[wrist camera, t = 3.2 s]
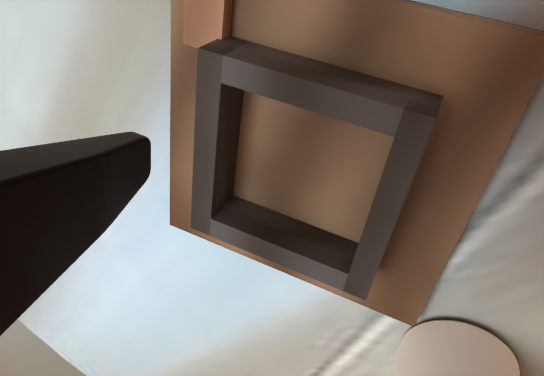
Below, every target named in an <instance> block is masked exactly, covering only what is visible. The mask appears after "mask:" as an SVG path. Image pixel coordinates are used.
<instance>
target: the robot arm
mask: <svg viewBox="0 0 544 376" xmlns="http://www.w3.org/2000/svg"><path fill="white" fill-rule="evenodd" d="M150 170H151V143H150V140H149V139H148V138H147V137H145V136H143V135H140V134H138V133H135V132H124V133H118V134H111V135H104V136H97V137H91V138H84V139H77V140H70V141H64V142H57V143H50V144H43V145H37V146H30V147H23V148H16V149H10V150H3V151H0V336H1V335H2V334H3V333H4V332H5V331H6V330H7V329H8V328H9V327H10V326H11V324H13V323H14V322H15V321H16V320H17V319H18V318H19V317H20V316H21V315H22V314H23V313H24V312H25V311H26V310H27V309H28V308H29V307H30V306H31V305H32V304H33V303H34V302H35V301H36V300H37V299H38V298H39V297H40V296H41V295H42V294H43V293H44V292H45V291H46V290H47V289H48V288H49V287H50V286H51V285H52V284H53V283H54V282H55V281H56V280H57V279H58V278H59V277H60V276H61V275H62V274H63V273H64V272H65V271H66V270H67V269H68V268H69V267H70V266H71V265H72V264H73V263H74V262H75V261H76V260H77V259H78V258H79V257H80V256H81V255H82V254H83V253H84V252H85V251H86V250H87V249H88V248H89V247H90V246H91V245H92V244H93V243H94V242H95V241H96V240H97V239H98V238H99V237H100V236H101V235H102V234H103V233H104V232H105V231H106V230H107V228H108V227H109V226H110V225H111V224H112V223H113V221H114V220H115V219H116V218H117V217H118V215H119V214H120V213H121V212H122V210H123V209H124V208H125V207H126V205H127V204H128V203H129V202H130V200H131V199H132V198H133V197H134V195H135V194H136V193H137V192H138V190H139V189H140V188H141V187H142V186H143V184H144V183H145V182H146V180H147V179H148V177H149V175H150Z"/></svg>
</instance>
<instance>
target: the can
mask: <svg viewBox="0 0 544 376" xmlns="http://www.w3.org/2000/svg"><path fill="white" fill-rule="evenodd" d="M392 376H520V370H519V365H518V362H517V360H516V358H515V356H514V354H513V353H512V351H511V350H510V349H509V348H508V347H507V346H506V345H505V344H504V343H503V342H502V341H501V340H499V339H498V338H497V337H496V336H494V335H493V334H492V333H490V332H488V331H487V330H485V329H483V328H481V327H478V326H476V325H473V324H470V323H467V322H463V321H458V320H449V319H440V320H432V321H428V322H425V323H422V324H419V325H417V326H415V327H413V328H411V329H410V330H409V331H408V332H407V333H406V334H405V335H404V336H403V338H402V340H401V342H400V345H399V349H398V353H397V357H396V361H395V365H394V369H393V373H392Z"/></svg>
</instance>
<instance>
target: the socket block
mask: <svg viewBox="0 0 544 376" xmlns="http://www.w3.org/2000/svg"><path fill="white" fill-rule="evenodd" d="M543 73H544V31H540V30H536V29H531V28H527V27H523V26H518V25H514V24H510V23H506V22H501V21H497V20H493V19H488V18H484V17H480V16H475V15H471V14H467V13H462V12H458V11H454V10H450V9H445V8H441V7H437V6H432V5H428V4H424V3H419V2H415V1H411V0H171V110H170V225H172V226H174V227H177V228H179V229H182V230H184V231H186V232H189V233H191V234H194V235H196V236H198V237H201V238H203V239H206V240H208V241H210V242H213V243H215V244H217V245H220V246H222V247H225V248H227V249H229V250H232V251H234V252H237V253H239V254H241V255H244V256H246V257H249V258H251V259H253V260H256V261H258V262H260V263H263V264H265V265H268V266H270V267H272V268H275V269H277V270H280V271H282V272H284V273H287V274H289V275H292V276H294V277H296V278H299V279H301V280H303V281H306V282H308V283H311V284H313V285H315V286H318V287H320V288H323V289H325V290H327V291H330V292H332V293H335V294H337V295H339V296H342V297H344V298H346V299H349V300H351V301H354V302H356V303H358V304H361V305H363V306H366V307H368V308H370V309H373V310H375V311H378V312H380V313H382V314H385V315H387V316H389V317H392V318H394V319H397V320H399V321H401V322H404V323H406V324H409V325H411V326H413V327H414V326H415V324H416V322H417V320H418V318H419V316H420V314H421V313H422V311H423V309H424V307H425V305H426V303H427V301H428V299H429V297H430V295H431V293H432V291H433V289H434V287H435V285H436V283H437V281H438V279H439V277H440V275H441V273H442V271H443V269H444V267H445V265H446V264H447V262H448V260H449V258H450V256H451V254H452V252H453V250H454V248H455V246H456V244H457V242H458V240H459V238H460V236H461V234H462V232H463V230H464V228H465V226H466V224H467V222H468V220H469V218H470V217H471V215H472V213H473V211H474V209H475V207H476V205H477V203H478V201H479V199H480V197H481V195H482V193H483V191H484V189H485V187H486V185H487V183H488V181H489V179H490V177H491V175H492V173H493V171H494V169H495V168H496V166H497V164H498V162H499V160H500V158H501V156H502V154H503V152H504V150H505V148H506V146H507V144H508V142H509V140H510V138H511V136H512V134H513V132H514V130H515V128H516V126H517V124H518V122H519V121H520V119H521V117H522V115H523V113H524V111H525V109H526V107H527V105H528V103H529V101H530V99H531V97H532V95H533V93H534V91H535V89H536V87H537V85H538V83H539V81H540V79H541V77H542V75H543Z"/></svg>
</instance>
